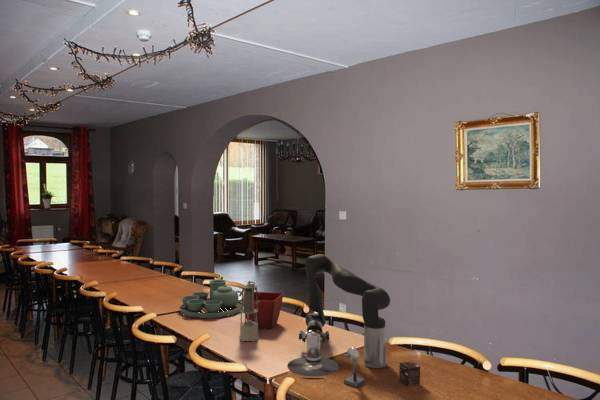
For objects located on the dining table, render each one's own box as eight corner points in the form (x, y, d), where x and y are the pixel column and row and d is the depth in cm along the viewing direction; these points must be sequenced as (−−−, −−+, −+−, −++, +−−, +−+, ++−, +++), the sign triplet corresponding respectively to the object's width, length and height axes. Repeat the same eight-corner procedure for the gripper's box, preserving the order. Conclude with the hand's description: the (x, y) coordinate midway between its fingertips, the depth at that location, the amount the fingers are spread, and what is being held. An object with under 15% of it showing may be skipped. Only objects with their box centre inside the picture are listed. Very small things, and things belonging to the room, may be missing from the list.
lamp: (252, 334, 243) (252, 278, 242) (266, 340, 233) (266, 282, 232) (235, 338, 236) (235, 280, 236) (248, 345, 226) (248, 284, 226)
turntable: (337, 359, 206) (337, 356, 206) (339, 380, 184) (339, 376, 184) (289, 358, 207) (289, 355, 207) (285, 378, 185) (285, 375, 185)
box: (398, 380, 185) (399, 362, 184) (411, 378, 187) (411, 360, 187) (407, 386, 179) (407, 368, 179) (420, 384, 181) (420, 366, 181)
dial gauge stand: (365, 382, 182) (365, 346, 182) (356, 387, 178) (357, 350, 177) (346, 376, 188) (346, 341, 188) (338, 381, 184) (338, 345, 183)
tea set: (174, 307, 301) (174, 282, 300) (233, 300, 318) (232, 277, 317) (186, 322, 265) (186, 294, 265) (251, 315, 282) (251, 288, 282)
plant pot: (241, 329, 252) (241, 298, 252) (252, 319, 271) (252, 291, 271) (274, 331, 248) (274, 300, 247) (283, 321, 266) (283, 293, 266)
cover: (320, 356, 206) (320, 330, 206) (320, 362, 200) (320, 335, 200) (306, 356, 207) (306, 330, 206) (305, 361, 200) (305, 334, 200)
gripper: (300, 321, 224) (298, 331, 208) (329, 322, 223) (329, 332, 207) (300, 336, 224) (298, 348, 208) (329, 337, 224) (329, 348, 207)
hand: (313, 340), depth 208 cm, fingers open, 8 cm apart
